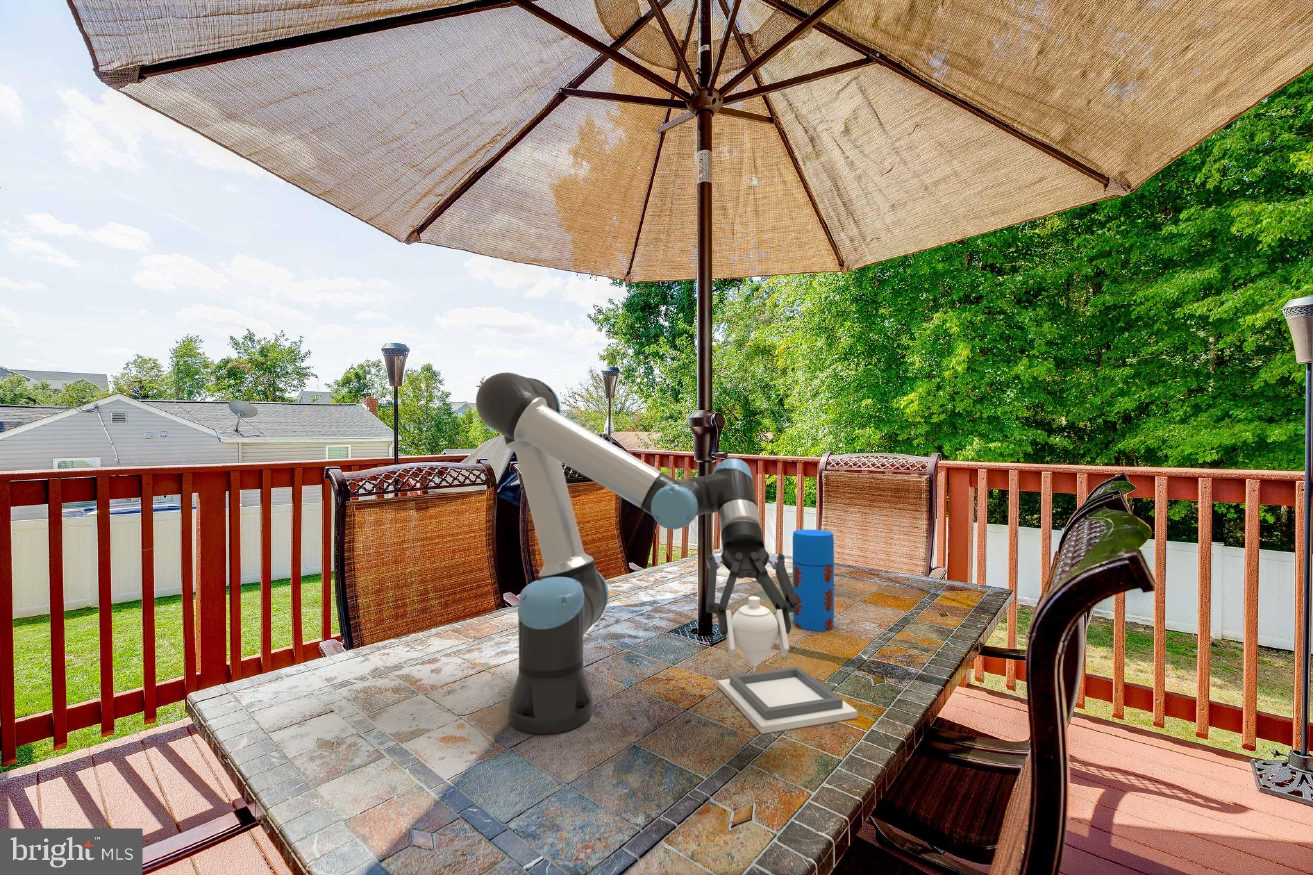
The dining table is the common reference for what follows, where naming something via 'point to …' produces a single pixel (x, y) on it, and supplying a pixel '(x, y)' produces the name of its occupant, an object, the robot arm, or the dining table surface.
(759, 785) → the dining table surface
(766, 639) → the spinning top
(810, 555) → the thermos
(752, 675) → the dock plate
